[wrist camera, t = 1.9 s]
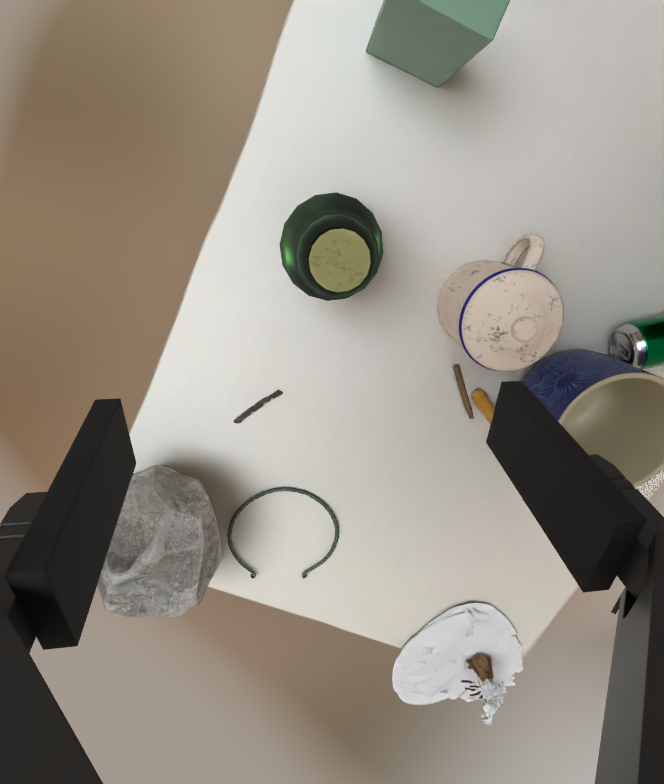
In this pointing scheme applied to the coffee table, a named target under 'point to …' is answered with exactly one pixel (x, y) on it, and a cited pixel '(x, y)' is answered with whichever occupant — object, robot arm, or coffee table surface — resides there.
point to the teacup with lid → (503, 309)
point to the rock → (161, 547)
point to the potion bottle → (331, 246)
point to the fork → (483, 404)
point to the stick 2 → (463, 390)
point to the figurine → (460, 659)
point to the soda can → (639, 342)
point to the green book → (434, 34)
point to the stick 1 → (257, 406)
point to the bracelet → (276, 491)
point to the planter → (605, 408)
